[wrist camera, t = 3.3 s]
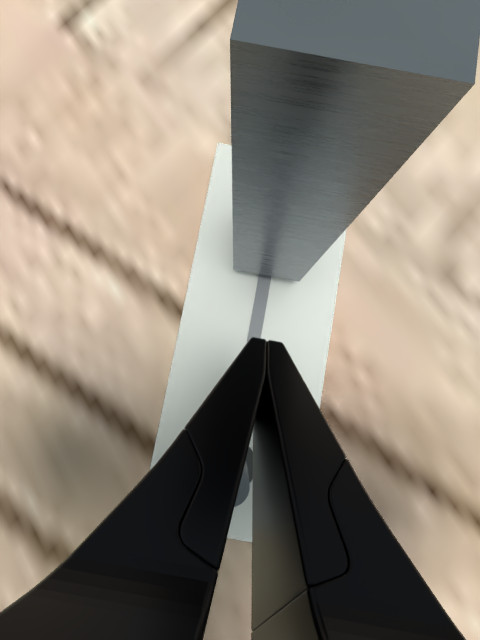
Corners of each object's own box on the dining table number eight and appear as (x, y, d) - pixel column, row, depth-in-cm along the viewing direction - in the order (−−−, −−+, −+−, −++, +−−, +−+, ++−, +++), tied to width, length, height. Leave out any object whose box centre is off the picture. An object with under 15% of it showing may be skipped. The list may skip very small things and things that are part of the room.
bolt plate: (292, 534, 14) (311, 592, 11) (146, 507, 14) (119, 556, 11) (347, 179, 16) (377, 133, 13) (219, 156, 16) (215, 103, 13)
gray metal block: (296, 284, 14) (474, 83, 4) (233, 272, 14) (230, 38, 4) (306, 224, 15) (495, -118, 4) (244, 212, 15) (271, -158, 4)
